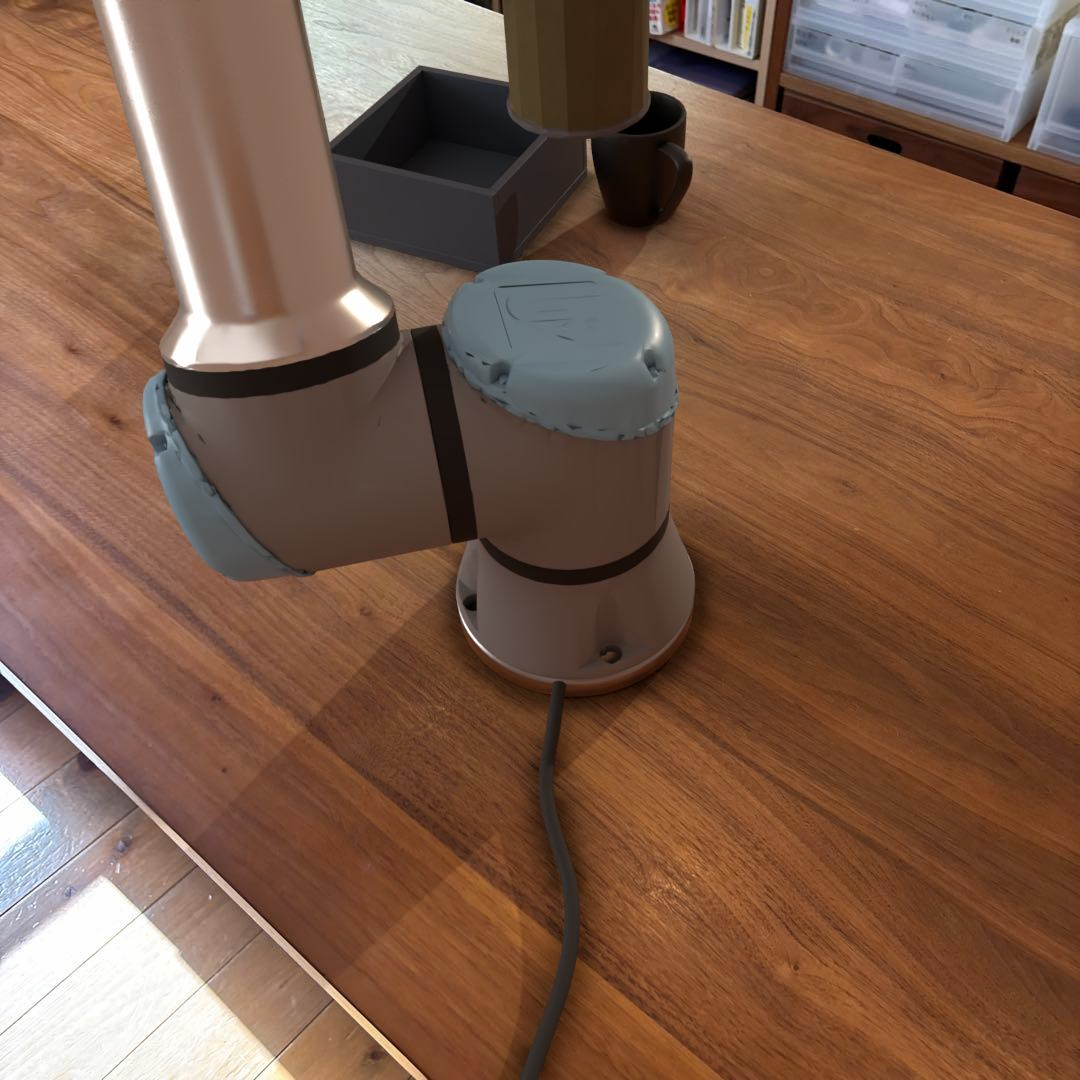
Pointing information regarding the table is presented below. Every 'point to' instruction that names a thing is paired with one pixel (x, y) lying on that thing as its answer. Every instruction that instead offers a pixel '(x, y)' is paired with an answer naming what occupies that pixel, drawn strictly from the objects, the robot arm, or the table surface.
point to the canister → (577, 65)
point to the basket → (451, 172)
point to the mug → (645, 165)
